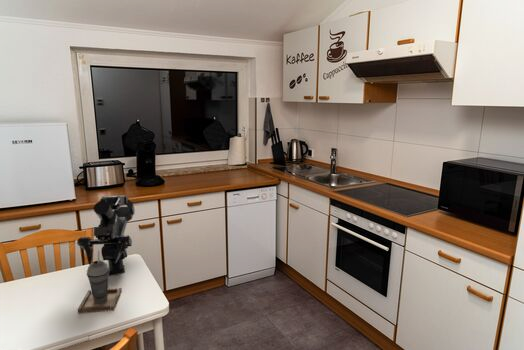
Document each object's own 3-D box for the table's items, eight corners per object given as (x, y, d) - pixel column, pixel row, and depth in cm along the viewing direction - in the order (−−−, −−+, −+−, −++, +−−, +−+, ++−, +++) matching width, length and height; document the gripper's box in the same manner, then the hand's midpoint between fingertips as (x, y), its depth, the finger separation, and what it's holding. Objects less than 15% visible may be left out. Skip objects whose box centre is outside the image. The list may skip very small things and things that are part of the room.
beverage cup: (97, 293, 135) (92, 245, 130) (115, 295, 134) (111, 246, 129) (85, 304, 128) (79, 254, 123) (104, 307, 127) (98, 256, 122)
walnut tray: (88, 293, 136) (88, 290, 136) (121, 291, 138) (121, 288, 138) (77, 313, 125) (77, 309, 124) (114, 310, 126) (113, 306, 126)
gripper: (75, 217, 134) (68, 258, 126) (127, 215, 136) (123, 255, 128) (85, 228, 143) (78, 267, 135) (133, 226, 146) (130, 264, 138)
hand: (102, 263), depth 134 cm, fingers open, 9 cm apart
